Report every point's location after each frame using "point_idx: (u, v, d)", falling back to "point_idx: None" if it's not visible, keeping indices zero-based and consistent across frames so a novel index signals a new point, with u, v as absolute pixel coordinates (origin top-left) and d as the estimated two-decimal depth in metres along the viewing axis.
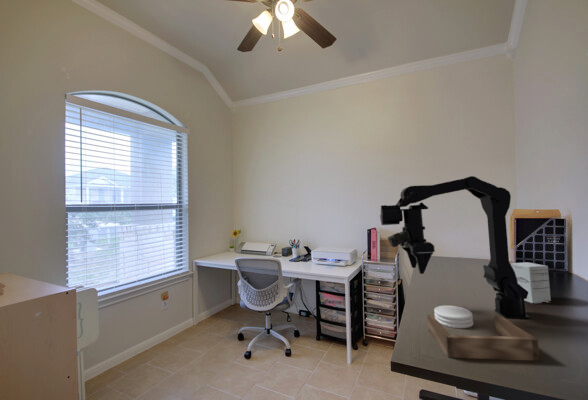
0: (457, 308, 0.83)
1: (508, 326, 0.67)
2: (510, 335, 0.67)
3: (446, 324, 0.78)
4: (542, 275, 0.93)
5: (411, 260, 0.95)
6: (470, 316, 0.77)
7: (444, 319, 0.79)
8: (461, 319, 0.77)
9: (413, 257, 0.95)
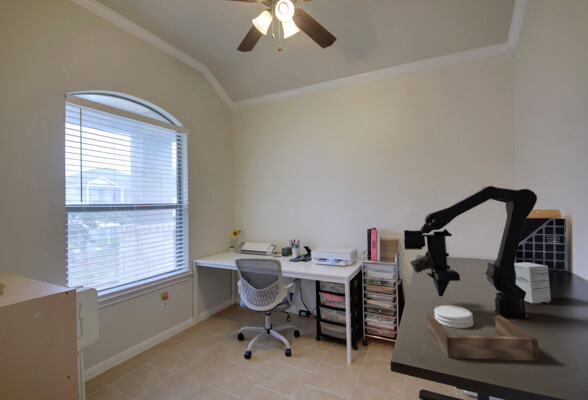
0: (457, 308, 0.83)
1: (508, 326, 0.67)
2: (510, 335, 0.67)
3: (446, 324, 0.78)
4: (542, 275, 0.93)
5: None
6: (470, 316, 0.77)
7: (444, 319, 0.79)
8: (461, 319, 0.77)
9: None
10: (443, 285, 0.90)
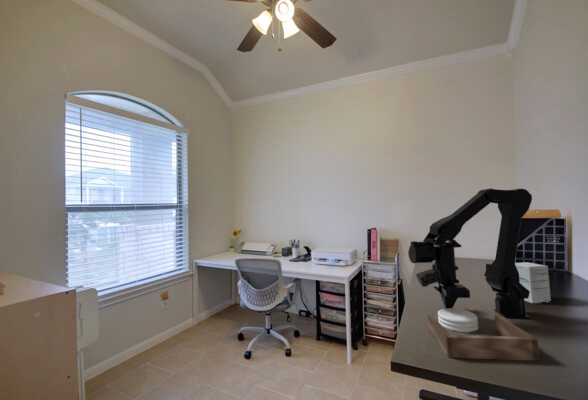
0: (461, 311, 0.80)
1: (508, 326, 0.67)
2: (510, 335, 0.67)
3: (450, 328, 0.75)
4: (542, 275, 0.93)
5: None
6: (475, 319, 0.75)
7: (448, 323, 0.76)
8: (466, 323, 0.74)
9: None
10: (451, 301, 0.83)
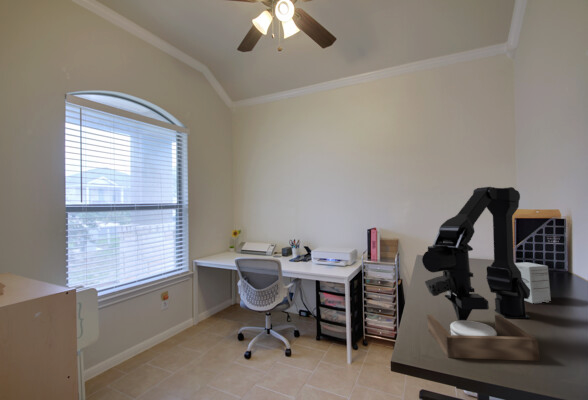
0: (477, 324, 0.71)
1: (508, 326, 0.67)
2: (510, 335, 0.67)
3: None
4: (542, 275, 0.93)
5: None
6: (494, 335, 0.65)
7: None
8: None
9: None
10: (465, 311, 0.74)
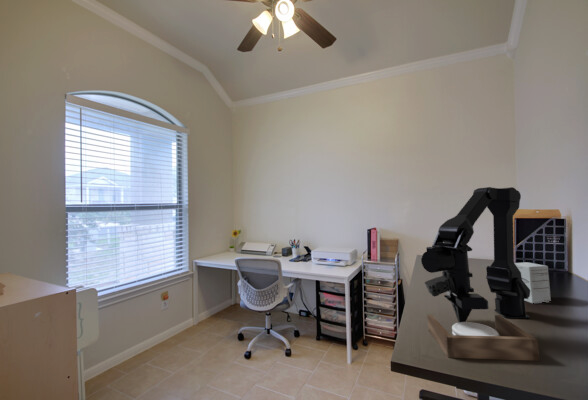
0: (479, 326, 0.70)
1: (508, 326, 0.67)
2: (510, 335, 0.67)
3: None
4: (542, 275, 0.93)
5: None
6: None
7: None
8: None
9: None
10: (465, 311, 0.75)
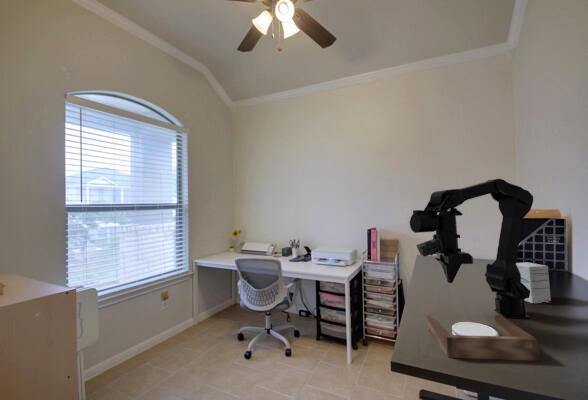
0: (479, 326, 0.70)
1: (508, 326, 0.67)
2: (510, 335, 0.67)
3: None
4: (542, 275, 0.93)
5: None
6: None
7: None
8: None
9: None
10: (453, 270, 0.81)
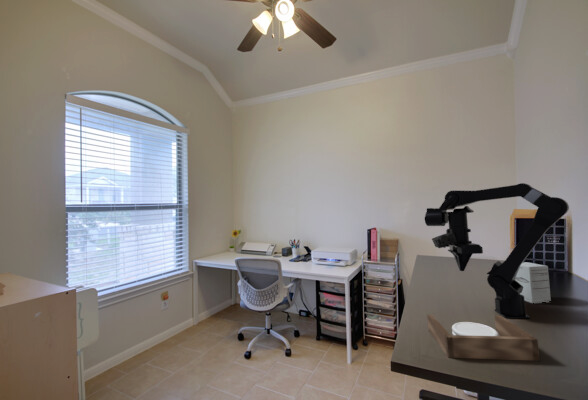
0: (479, 326, 0.70)
1: (508, 326, 0.67)
2: (510, 335, 0.67)
3: None
4: (542, 275, 0.93)
5: None
6: None
7: None
8: None
9: None
10: (465, 260, 0.93)
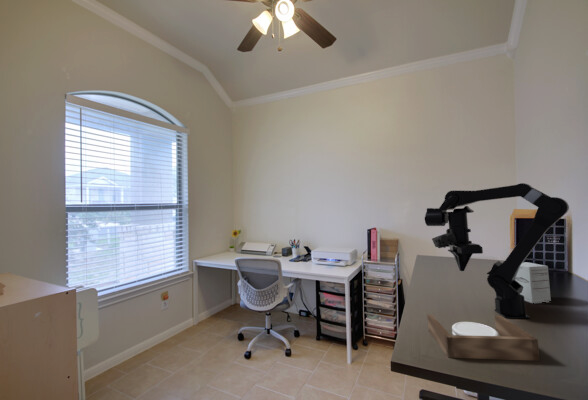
0: (479, 325, 0.70)
1: (508, 326, 0.67)
2: (510, 335, 0.67)
3: None
4: (542, 275, 0.93)
5: None
6: None
7: None
8: None
9: None
10: (465, 260, 0.93)
